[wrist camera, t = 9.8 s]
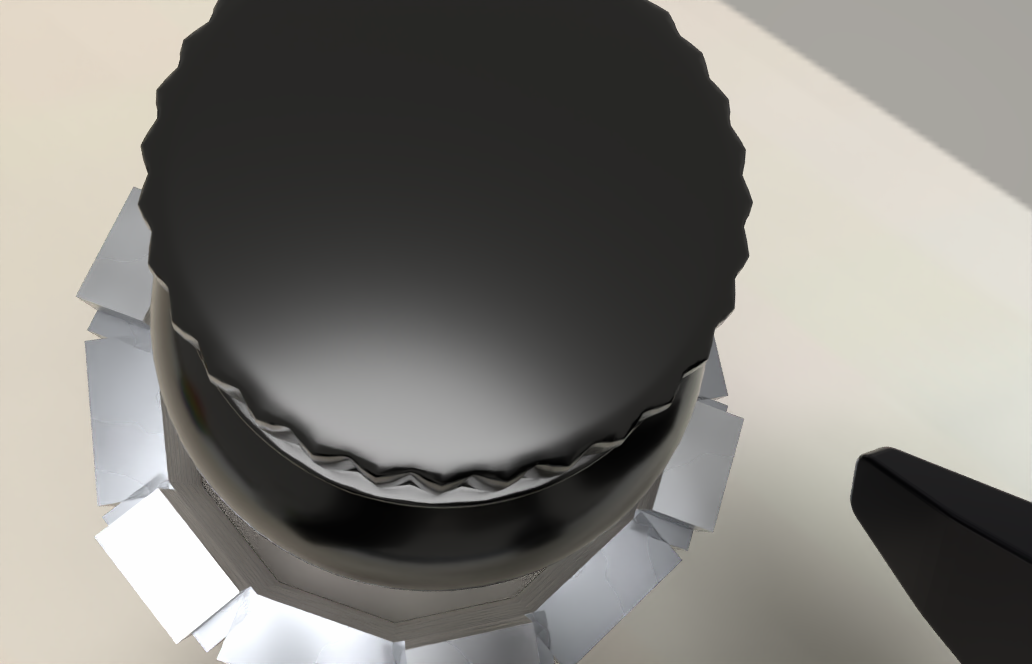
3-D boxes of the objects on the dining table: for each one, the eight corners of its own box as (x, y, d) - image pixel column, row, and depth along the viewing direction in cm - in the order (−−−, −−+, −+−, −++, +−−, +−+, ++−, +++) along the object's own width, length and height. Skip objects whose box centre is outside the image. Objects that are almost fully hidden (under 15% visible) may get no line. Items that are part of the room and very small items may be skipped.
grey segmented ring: (374, 809, 16) (368, 893, 12) (17, 349, 16) (-82, 308, 13) (777, 424, 19) (861, 405, 15) (455, 53, 19) (467, -43, 16)
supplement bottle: (584, 273, 19) (885, -110, 7) (562, 569, 17) (906, 695, 6) (292, 234, 18) (97, -271, 6) (240, 541, 16) (-145, 620, 5)
